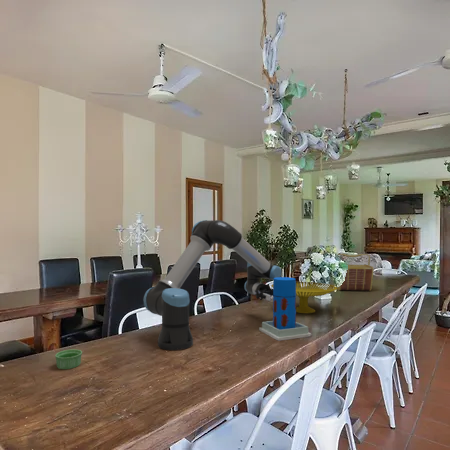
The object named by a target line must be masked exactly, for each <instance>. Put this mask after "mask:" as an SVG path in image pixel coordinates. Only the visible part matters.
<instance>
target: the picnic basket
mask: <svg viewBox="0 0 450 450" xmlns="http://www.w3.org/2000/svg"><path fill="white" fill-rule="evenodd" d="M337 254H338V255H337V256H345V257H347V258H357V257H361V256H368V261H367V264H347V265H348V270H347V273H346V277H345V281H344V282H343V284H342V285H341V286H340V287H338V289H337V291H362V292H363V291H367V292H371V291H372V287H373V278H374V272H375V271H374V270H375V269H374V266H372V265H370V264H371V255H370V254H368V253H360V254H345V253H337Z"/></svg>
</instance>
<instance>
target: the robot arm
mask: <svg viewBox="0 0 450 450" xmlns="http://www.w3.org/2000/svg"><path fill="white" fill-rule="evenodd" d="M189 238H190V242H189V244H188V245H187V246H186V248H185V249H184V251H183V253H182V254H181V255H180V256H179V258H178V259H177V260H176V262H175V264H173V266H172V268H171V269H170V270H169V272H168V273H167V275H166V276H165V278H163V279H162V280H161V279H160V280H159V281H158V282H157V283H156V285H155V286H153V287H150V288H149V289H147V290H146V291H145V293H144V295H143V305H144V307H145V309H146V310H147V311H148V312H150V313H151V314H153V315H157V316H161V329H160V331H159V335H158V338H157V347H158V348H160V349H162V350H165V351H180V350H186V349H189V348H191V347H192V346H193V345H194V338H193V334H192V331H191V328H190V301H191V300H190V294H189V291H187V290H186V289H183V288H181V287H182V286H183V284H184V283H185V281H186V280H187V278H188V277H189V275H190V274H191V273H192V271H193V269H194V268H195V267H196V265H197V264H198V262H199V261H200V259H201V258H202V256H203V255H204V253H205V252H207V251H210V250H211V248H212V246H213V245H215V244H219V245H221V246H225V247H226V248H228V249H229V250H233V251H234V252H235V253H236V254H238V255H239V256H240V257H241V258H242V259H244V260H245V261H246V263H247V266H246V269H247V270H246V276H247V279H246V281H245V283H244V286H243V287H244V290H245V291H246V292H247V293H248V294H250V295H254V296H255V297H256V299H260V301H263V300H266V301H267V302H271V300H272V298H271V297H273V287H270V286H269V284H265V283H263V282H261V279H266V280H271V281H273V280H274V278H277V277H282V269H281V267H280V266H278V265H276V264H275V265H273V264H272V263H271V262H270V261H268V259H266V258H265V257H264V256H263V255H262V254H261V253H260V252H258V250H257V249H255V248H254V247H253V246H252V245H251V244H250V243H249V242H247V241H246V240H245V239H244V237H243V235H242V233H241V232H240V231H239V230H238V229H236V228H235V227H234V226H232V225H231V224H230V223H228V222H226V221H224V220H221V219H218V220H217V219H216V220H214V219H213V220H200V221H198V222H196V223H195V224H194V225H193V227H192V229H191V236H190V237H189Z"/></svg>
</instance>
